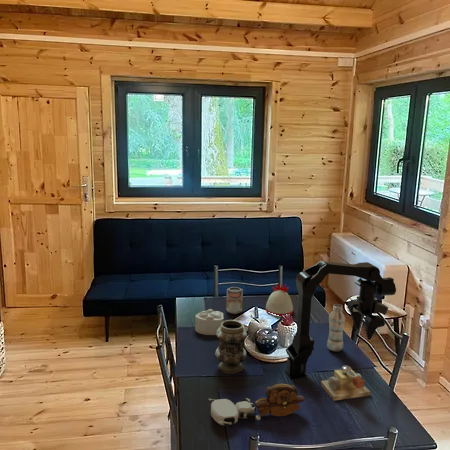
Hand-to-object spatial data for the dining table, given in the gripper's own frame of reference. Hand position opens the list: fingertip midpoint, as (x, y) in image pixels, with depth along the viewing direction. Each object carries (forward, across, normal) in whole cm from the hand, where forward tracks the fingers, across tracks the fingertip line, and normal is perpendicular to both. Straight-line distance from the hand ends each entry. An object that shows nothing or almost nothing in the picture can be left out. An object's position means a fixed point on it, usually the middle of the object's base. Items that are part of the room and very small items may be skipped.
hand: (363, 334), depth 170 cm
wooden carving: (+15, -23, +40) cm, 49 cm away
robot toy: (+15, -22, +55) cm, 62 cm away
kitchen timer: (+15, +58, +15) cm, 62 cm away
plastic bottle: (+14, +15, +4) cm, 21 cm away
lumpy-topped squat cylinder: (+15, +42, +54) cm, 70 cm away
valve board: (+14, -14, +13) cm, 24 cm away
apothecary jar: (+15, +8, +50) cm, 53 cm away
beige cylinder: (+15, +61, +38) cm, 73 cm away
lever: (+8, -18, +13) cm, 23 cm away
